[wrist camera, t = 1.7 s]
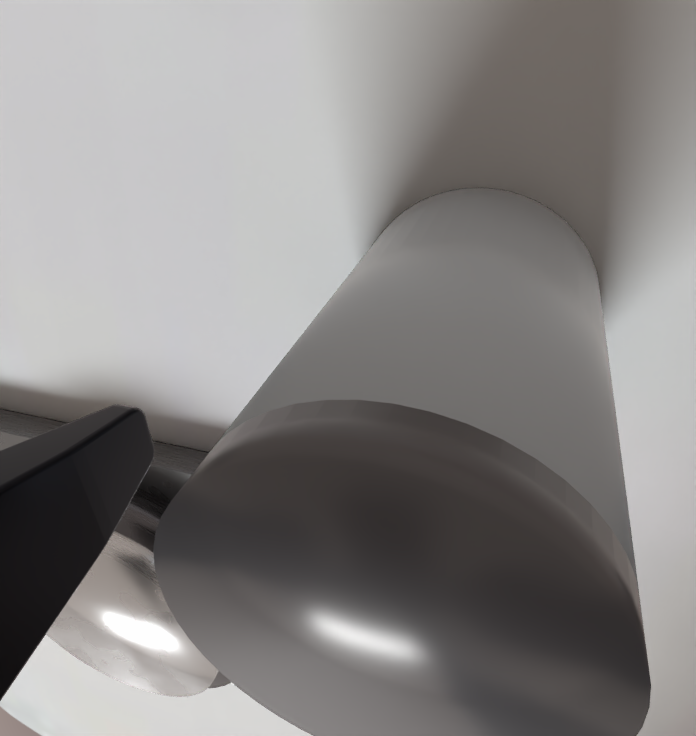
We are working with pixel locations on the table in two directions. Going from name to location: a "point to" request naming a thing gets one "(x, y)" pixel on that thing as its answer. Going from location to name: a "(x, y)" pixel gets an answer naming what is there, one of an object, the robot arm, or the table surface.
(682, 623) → the table surface
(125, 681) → the base
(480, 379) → the knob
